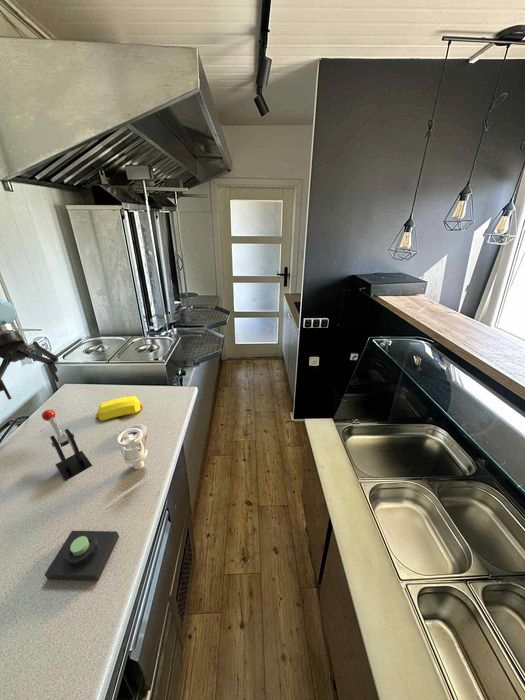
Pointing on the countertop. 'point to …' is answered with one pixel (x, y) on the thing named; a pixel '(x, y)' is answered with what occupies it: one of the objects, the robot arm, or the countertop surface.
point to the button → (79, 546)
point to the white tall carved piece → (133, 448)
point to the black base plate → (83, 557)
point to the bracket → (70, 458)
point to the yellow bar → (118, 407)
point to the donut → (139, 426)
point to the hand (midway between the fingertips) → (34, 389)
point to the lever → (55, 427)
